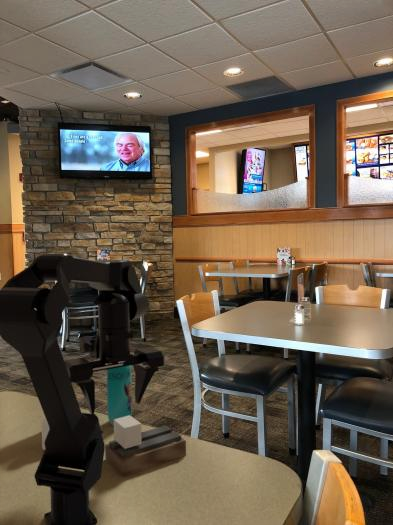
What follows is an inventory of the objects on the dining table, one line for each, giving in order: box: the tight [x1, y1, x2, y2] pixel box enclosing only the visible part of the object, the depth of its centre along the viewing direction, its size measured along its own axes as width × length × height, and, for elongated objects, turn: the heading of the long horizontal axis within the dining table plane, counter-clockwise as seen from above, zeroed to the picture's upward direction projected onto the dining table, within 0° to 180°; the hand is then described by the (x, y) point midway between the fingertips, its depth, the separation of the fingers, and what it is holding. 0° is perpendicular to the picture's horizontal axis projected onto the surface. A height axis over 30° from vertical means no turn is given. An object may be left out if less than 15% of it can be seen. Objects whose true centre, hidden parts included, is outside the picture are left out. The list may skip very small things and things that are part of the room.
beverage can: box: [106, 361, 133, 426], centre depth 104 cm, size 6×6×15 cm
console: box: [104, 425, 187, 478], centre depth 87 cm, size 14×8×4 cm, turn 125°
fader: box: [113, 415, 142, 449], centre depth 84 cm, size 4×5×5 cm
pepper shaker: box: [40, 414, 49, 451], centre depth 92 cm, size 4×4×10 cm
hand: (115, 408), depth 82 cm, fingers open, 9 cm apart
